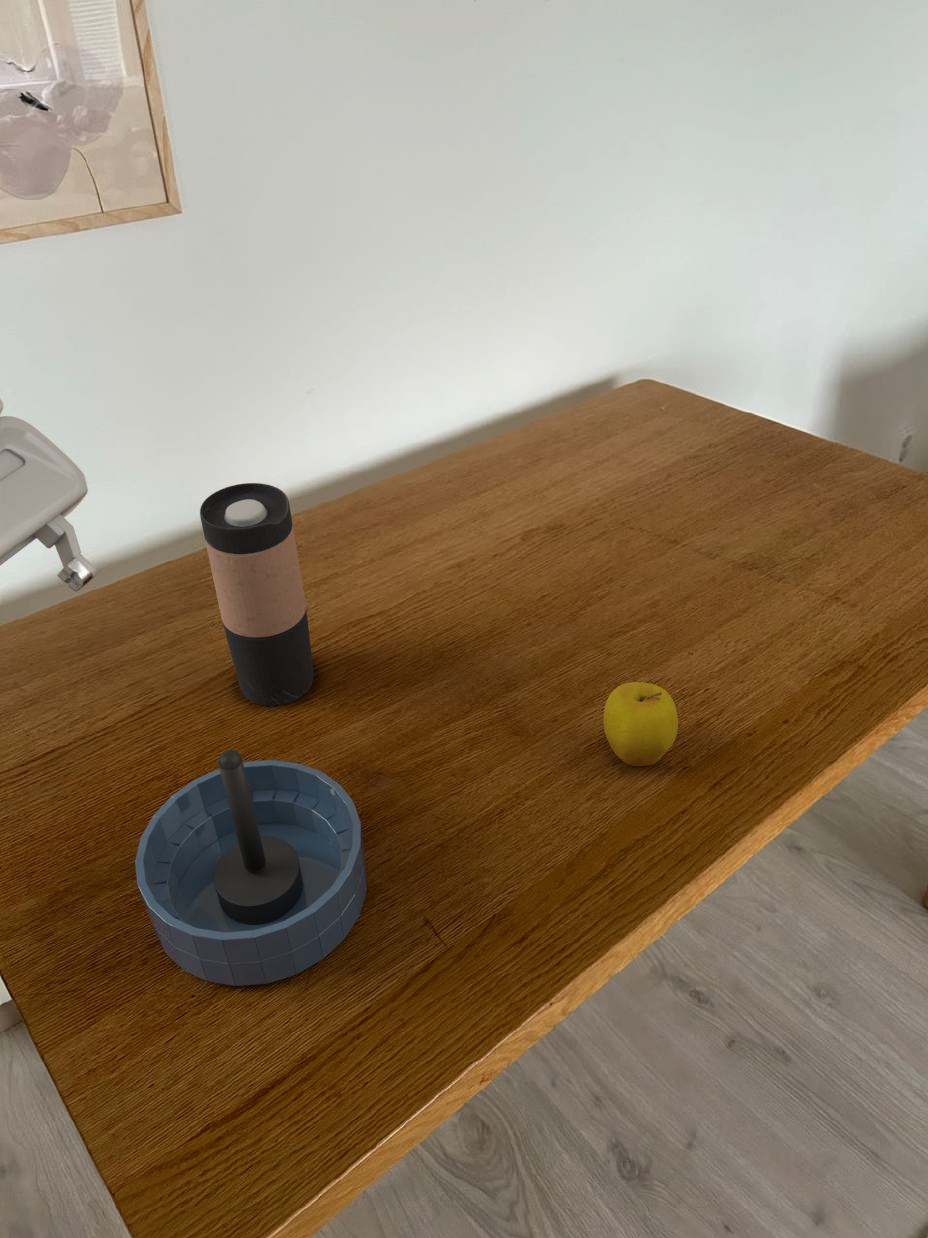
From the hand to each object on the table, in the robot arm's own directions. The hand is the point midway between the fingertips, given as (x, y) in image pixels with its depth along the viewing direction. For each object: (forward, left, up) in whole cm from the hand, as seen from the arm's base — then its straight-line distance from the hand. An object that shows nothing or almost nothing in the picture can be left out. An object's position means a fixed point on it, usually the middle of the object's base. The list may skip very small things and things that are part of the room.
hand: (41, 622), depth 65 cm
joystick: (+4, -13, -22) cm, 26 cm away
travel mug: (+21, +5, -23) cm, 32 cm away
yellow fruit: (+35, -27, -23) cm, 50 cm away
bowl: (+4, -13, -23) cm, 27 cm away
